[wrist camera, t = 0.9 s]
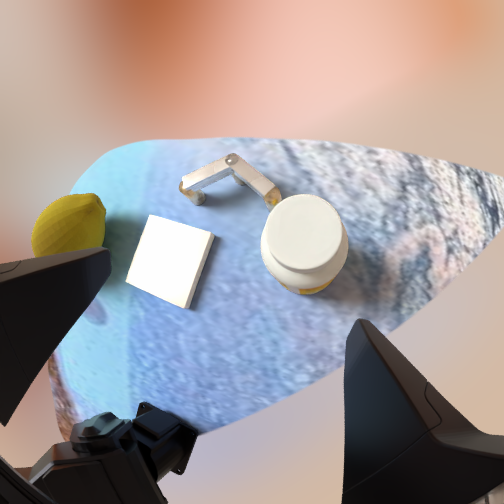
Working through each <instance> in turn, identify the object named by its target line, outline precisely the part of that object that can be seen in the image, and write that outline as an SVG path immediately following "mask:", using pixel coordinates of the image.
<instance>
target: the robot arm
mask: <svg viewBox="0 0 504 504" xmlns="http://www.w3.org/2000/svg"><path fill="white" fill-rule="evenodd" d="M110 273H111V252H110V250H109V249H107V248H104V247H95V248H88V249H82V250H76V251H70V252H65V253H59V254H53V255H48V256H42V257H36V258H31V259H26V260H22V261H21V260H20V261H15V262H9V263H4V264H0V423H1V424H2V425H3V426H4V427H5V426H6V425H7V423H8V421H9V420H10V418H11V416H12V414H13V413H14V411H15V409H16V408H17V406H18V404H19V403H20V401H21V400H22V398H23V396H24V395H25V393H26V392H27V390H28V388H29V387H30V385H31V383H32V382H33V381H34V379H35V377H36V376H37V375H38V373H39V372H40V370H41V369H42V367H43V366H44V364H45V363H46V361H47V360H48V359H49V357H50V356H51V354H52V353H53V352H54V350H55V349H56V348H57V346H58V345H59V343H60V342H61V341H62V339H63V338H64V337H65V335H66V334H67V333H68V331H69V330H70V329H71V328H72V326H73V325H74V324H75V322H76V321H77V320H78V319H79V317H80V316H81V315H82V314H83V312H84V311H85V310H86V309H87V307H88V306H89V305H90V303H91V302H92V301H93V299H94V298H95V296H96V295H97V293H98V292H99V290H100V289H101V287H102V286H103V284H104V283H105V281H106V280H107V279H108V277H109V276H110ZM143 405H144V406H145V408H144V407H143ZM344 406H345V446H344V477H343V494H342V503H341V504H504V436H502V435H490V434H486V433H484V432H482V431H480V430H478V429H477V428H476V427H475V426H474V425H473V424H472V423H470V422H469V421H468V420H467V419H466V418H465V417H464V416H463V415H462V414H461V413H460V412H459V411H458V410H457V409H455V408H454V407H453V406H452V405H451V404H450V403H449V402H448V401H447V400H446V399H445V398H444V397H443V396H442V395H441V394H440V393H439V392H438V391H437V390H436V389H435V388H434V387H433V386H432V385H431V384H430V382H427V379H426V378H425V377H424V376H423V375H422V374H421V373H420V372H419V371H418V370H417V369H416V368H415V367H414V366H413V365H412V364H411V363H410V362H409V361H408V360H407V359H406V357H404V355H403V354H402V353H401V352H400V351H399V350H398V349H397V348H396V347H395V346H394V345H393V344H392V343H391V342H390V341H389V340H388V339H387V338H386V337H385V336H384V335H383V334H382V333H381V332H380V331H379V330H378V329H377V328H376V327H375V326H374V325H373V324H372V323H371V322H370V321H368V320H365V319H360V318H359V319H357V320H356V321H355V323H354V325H353V327H352V329H351V331H350V333H349V335H348V337H347V340H346V352H345V369H344ZM191 432H193V433H194V435H192V434H191ZM197 436H198V431H197V430H196V429H194V428H192V427H190V426H188V425H186V424H184V423H182V422H180V421H179V420H178V419H176V418H175V417H173V416H171V415H169V414H167V413H165V412H164V411H162V410H160V409H158V408H155V407H153V406H152V405H150V404H148V403H147V402H141V403H140V404H139V407H138V411H137V415H136V418H135V419H133V420H132V421H131V420H130V419H125V420H123V419H119V418H118V417H116V416H115V415H114V414H113V413H111V412H104V413H102V414H99V415H96V416H94V417H92V418H91V419H87V420H84V422H81V423H77V424H74V426H73V429H72V432H71V436H70V441H68V442H63V443H58V444H54V445H53V446H52V447H51V448H50V449H49V450H48V451H47V452H46V453H45V454H44V455H43V456H42V457H41V458H40V460H39V461H38V462H37V463H36V464H35V465H34V466H33V467H26V468H13V467H12V466H11V465H10V464H8V463H7V462H6V461H5V459H3V458H2V457H1V456H0V504H168V501H167V499H166V498H165V497H164V496H163V494H162V492H161V490H160V488H159V486H158V484H157V482H158V481H159V480H160V479H162V478H163V477H164V476H165V475H166V474H167V473H168V472H169V471H172V472H174V473H176V474H178V475H182V474H183V473H184V471H185V469H186V466H187V463H188V461H189V458H190V455H191V453H192V450H193V447H194V444H195V442H196V439H197ZM178 470H180V471H178Z"/></svg>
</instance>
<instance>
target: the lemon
mask: <svg viewBox="0 0 504 504" xmlns="http://www.w3.org/2000/svg"><path fill="white" fill-rule="evenodd" d="M105 215H106V209H105V208H104V206H103V204H102V202H101V200H100V198H99V197H98V196H97V195H96V194H94V193H87V194H73V195H68V196H65V197H62V198H60V199H58V200H56V201H54V202H53V203H51V204H50V205H49V206H48V207H47V208H46V209H45V210H44V211H43V212H42V213H41V215H40V216H39V218H38V219H37V221H36V223H35V226H34V229H33V232H32V239H31V242H32V249H33V252H34V255H35V257H42V256H48V255H53V254H59V253H65V252H70V251H76V250H82V249H88V248H95V247H102V244H103V241H104V236H105Z"/></svg>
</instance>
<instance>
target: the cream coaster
mask: <svg viewBox="0 0 504 504" xmlns="http://www.w3.org/2000/svg"><path fill="white" fill-rule="evenodd" d="M214 237H215V235H214V234H212V233H211V232H208V231H204V230H201V229H198V228H194V227H191V226H188V225H184V224H181V223H177V222H174V221H171V220H167V219H164V218H160V217H157V216H154V215H150V216H149V219H148V221H147V224H146V226H145V229H144V231H143V234H142V236H141V239H140V242H139V244H138V247H137V250H136V252H135V255H134V258H133V261H132V264H131V267H130V270H129V272H128V275H127V278H126V282H128V283H130V284H132V285H134V286H136V287H138V288H140V289H142V290H144V291H146V292H149V293H151V294H153V295H155V296H157V297H159V298H162V299H164V300H166V301H168V302H170V303H173V304H175V305H177V306H180V307H182V308H185V309H189V307H190V304H191V301H192V298H193V295H194V292H195V289H196V286H197V284H198V281H199V278H200V275H201V272H202V269H203V267H204V264H205V261H206V258H207V256H208V253H209V250H210V247H211V245H212V242H213V239H214Z"/></svg>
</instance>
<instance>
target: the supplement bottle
mask: <svg viewBox="0 0 504 504" xmlns="http://www.w3.org/2000/svg"><path fill="white" fill-rule="evenodd" d="M261 254H262V258H263V261H264V263H265V265H266V267H267V269H268V270H269V272H270V273H271V274H272V275H273V276H274V277H275V279H276V280H277V281H278V282H279V283H280V284H281V285H282V286H283V287H285V288H286V289H287V290H289V291H291V292H293V293H296V294H301V295H309V294H314V293H317V292H319V291H321V290H323V289H324V288H326V287H327V286H328V285H329V284H330V283H331V282H332V281H333V279H334V278H335V277H336V275H337V274H338V273H339V271H340V270H341V269H342V267H343V265H344V263H345V261H346V258H347V254H348V236H347V233H346V230H345V227H344V225H343V223H342V222H341V219H340V217H339V215H338V213H337V211H336V210H335V209H334V207H333V206H332V205H331V204H330V203H328V202H327V201H326V200H324V199H322V198H320V197H317V196H314V195H309V194H299V195H294V196H291V197H288V198H286V199H284V200H282V201H281V202H280V203H278V204H277V205H276V206H275V207H274V209H273V210H272V211H271V213H270V214H269V216H268V219H267V221H266V225H265V227H264V230H263V233H262V237H261Z"/></svg>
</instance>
